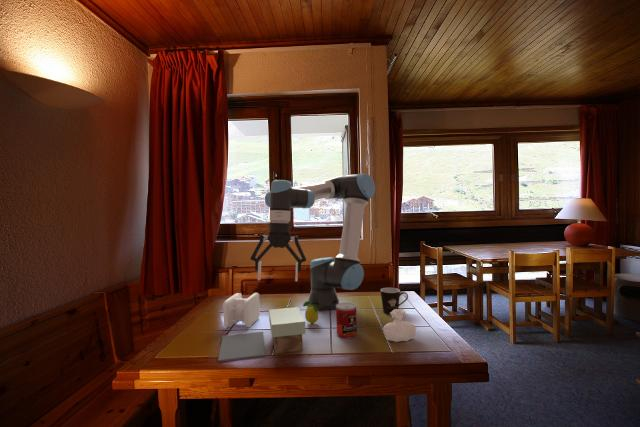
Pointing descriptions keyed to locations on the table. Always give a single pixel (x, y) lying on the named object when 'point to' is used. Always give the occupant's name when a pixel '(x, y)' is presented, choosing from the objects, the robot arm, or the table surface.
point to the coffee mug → (391, 299)
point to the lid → (286, 322)
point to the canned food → (346, 320)
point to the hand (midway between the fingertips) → (277, 280)
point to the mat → (242, 346)
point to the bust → (399, 328)
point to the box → (288, 343)
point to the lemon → (311, 312)
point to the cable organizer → (241, 310)
